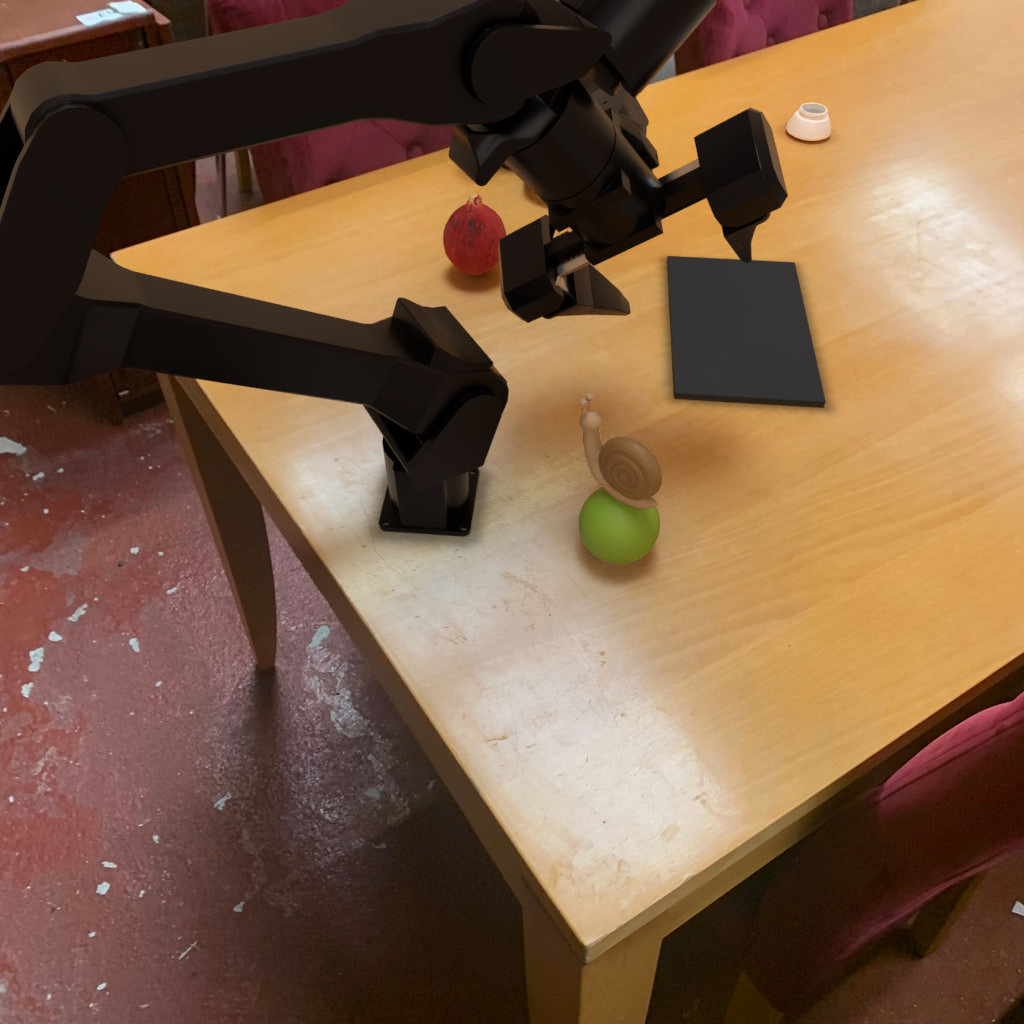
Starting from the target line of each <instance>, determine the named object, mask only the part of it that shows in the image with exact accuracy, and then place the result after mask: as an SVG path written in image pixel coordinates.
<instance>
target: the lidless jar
mask: <svg viewBox="0 0 1024 1024" xmlns="http://www.w3.org/2000/svg"><path fill="white" fill-rule="evenodd" d="M799 106H800V107H799V108H798V110H796V111H795V112H794V113H793V114H792V116H791V117H790V118H789V119H788V121H787V124H786V127H785V130H786V132H787V133H788V134H789V135H791V136H793V138H796V139H799V140H801V141H807V142H817V141H821V140H825V139H827V138H829V137H830V136H831V134H832V129H833V127H832V124H831V118H830V115H829V114H828V113H829V111H828V107H827V106H826V105H824V104H822V103H818V102H805V103H802V104H800V105H799Z"/></svg>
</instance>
